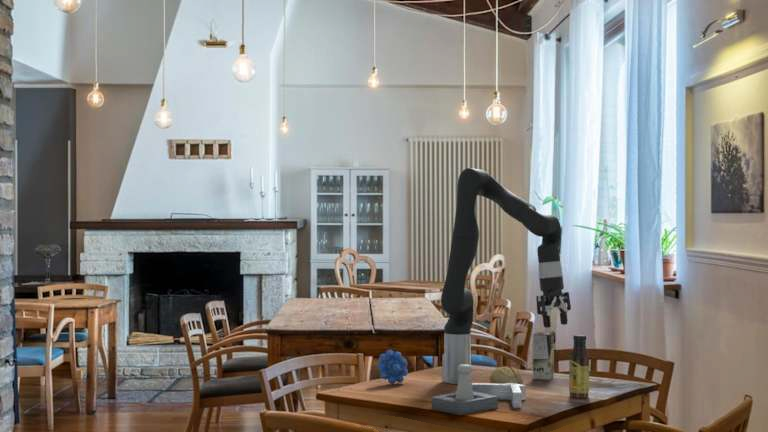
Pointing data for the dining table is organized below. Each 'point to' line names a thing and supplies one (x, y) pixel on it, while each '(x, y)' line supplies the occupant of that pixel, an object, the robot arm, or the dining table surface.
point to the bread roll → (506, 376)
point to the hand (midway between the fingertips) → (555, 325)
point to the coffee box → (543, 355)
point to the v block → (503, 391)
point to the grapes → (392, 366)
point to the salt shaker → (464, 383)
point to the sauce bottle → (579, 368)
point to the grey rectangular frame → (464, 403)
